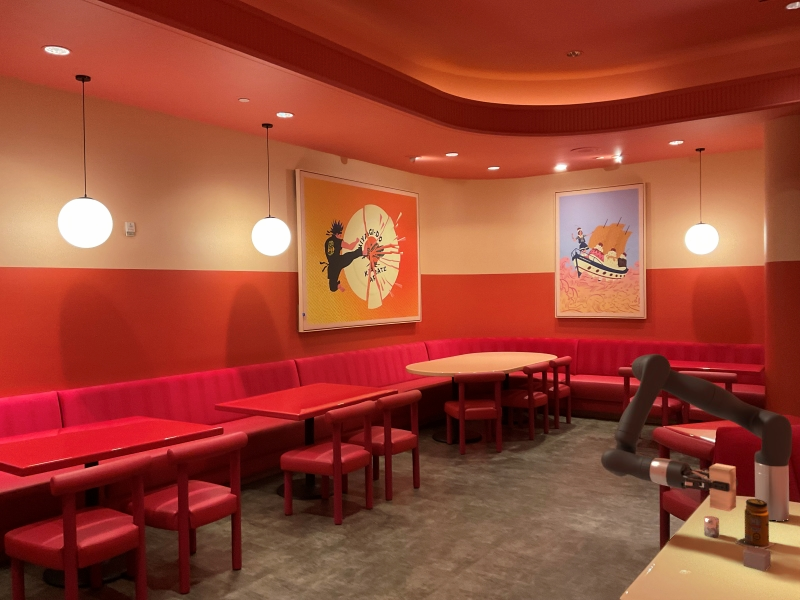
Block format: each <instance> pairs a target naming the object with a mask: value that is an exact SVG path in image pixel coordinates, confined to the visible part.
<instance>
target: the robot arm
mask: <svg viewBox="0 0 800 600" xmlns="http://www.w3.org/2000/svg"><path fill="white" fill-rule="evenodd" d="M631 373H632V375H633V376H634V377H635V379H637V380H638V381H639V386H638V389H637V390H636V392H635V394H634V395H633V398H632V399H631V401H629V403H628V405H627V407H626V408H625V409H624V411H623V413H622V414H621V416H620V419H619V422H618V423H617V427H616V430H615V432H614V435H613V437H614V440H615V442H616V446H615V448H609V449H606V450H605V451H604V452H603V453H602V454H601V455H600V456H601V457H600V462H601V465H602V467H603V468H604V469H605V470H606V471H608V472H609V473H612V474H613V475H615V476H618V477H625V476H627V475H629V476H632V477H635V479H639V480H641V481H647V482H652V483H656V484H658V485H662V486H667V487H672V488H676V489H679V490H680V489H681V490H686V489H693V490H700V491H705V492H708V491H709V492H710V489H711V490H714V489H716V490H721V491H726V492H728V491H730V484H729V483H725V482H720V481H714V480H712V479H709V468H702V469H695V470H694V469H692V468H691V465H690V464H689V462H686V461H681V460H675V459H669V458H665V457H664V458H663V457H662V458H661V457H660V458H659V457H653V456H648V455H647V456H646V455H640V454H637V445H638V442H639V439H640V436H641V434H642V431H643V428H644V426H645V423H646V421H647V419H648V416H649V413H650V412H651V410H652V408H653V405H654V403H655V401H656V400H657V398H658V396H659V394H660V393H661V391H665V392H666V393H669V394H671V395H673V396H675V397H676V398H678V399H679V400H682V401H684V402H685V403H688V404H689V405H692V406H693V407H695V408H697V409H699V410H701V411H703V412H705V413H707V414H709V415H711V416H714V417H718V418H720V419H723V420H726V421H730V422H732V423H734V424H736V425H738V426H739V427H742V428H744V429H745V430H746V431H747V432H750V434H752V435H754V436H755V437H758V438H759V439H761V446H760V447H761V448H760V450H757V451H755V453H754V492H755V493H754V499H759V500H763V501H765V502H766V503H767V511H768V513H769V520H777V521H783V520H787V519H789V520H790V489H789V488H790V486H789V483H790V479H789V460H790V458H791V456H792V449H793V446H792V445H793V444H792V443H793V429H792V427H793V426H792V423H791V421H790V420H789V419H788V417H786V416H785V415H782V414H779V413H777V412H774V411H771V410H767V409H764V408H763V409H762V408H760V407H757V406H755V405H751V404H749V403H747V402H745V401H743V400H741V399H740V398H738V397H737V396H735V395H734V394H733V393H732V392H730V391H728V389H726V388H724V387H721V386H720V385H717V384H716V383H713V382H712V381H709V380H706V379H703V378H701V377H696V376H693V375H689V374H685V373H681V372H679V371H676V370H674V369H671V364H670V361H669V360H668V358H666V357H665V356H664V355H662V354H658V353H651V354H644V355H641V356H639V357H637V358H635V359H634V360H633V361H632V364H631ZM736 487H738V479H737V478H736ZM777 521H776V522H777ZM783 522H784V521H783Z"/></svg>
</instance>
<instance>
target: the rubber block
mask: <svg viewBox="0 0 800 600" xmlns="http://www.w3.org/2000/svg"><path fill="white" fill-rule="evenodd" d="M742 553H743V555H742V557H743V563H742V564H743V567H746V568H750V569H753V570H756V571H760V572H764V573H765V572H766V571H767V570H768V569H769V568H770V567H771V566H772V565H771V564H772V563H771V560H772V559H771V554H772V553H771V550H768V549H766V548H765V549H761V548H757V547H753V546H749V547H746V548H745V549H744V550H743V551H742Z"/></svg>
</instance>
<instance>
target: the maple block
mask: <svg viewBox="0 0 800 600" xmlns="http://www.w3.org/2000/svg"><path fill="white" fill-rule="evenodd" d="M708 469H709V479H712V480H714V481H720V482H725V483H729V484H730V491H728V492H726V491H721V490H716V489H714V490H711V489H709V508H712V509H715V510H720V511H724V512H731V511H733V509H736V508H737V486H736V479H737V477H736V475H737V474H736V471H737V470H736V469H737V467H736V466H733V465H728V464H723V463H717V462H716V463H715V464H712V465H710V466H709V467H708Z"/></svg>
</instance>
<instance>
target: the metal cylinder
mask: <svg viewBox="0 0 800 600" xmlns="http://www.w3.org/2000/svg"><path fill="white" fill-rule="evenodd" d="M703 531H704V532H703V535H704V536H705V537H708V538H712V539H713V538H714V539H717V538H719V537H720V518H719V517H716V516H713V515H706V516H704V517H703Z"/></svg>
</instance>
